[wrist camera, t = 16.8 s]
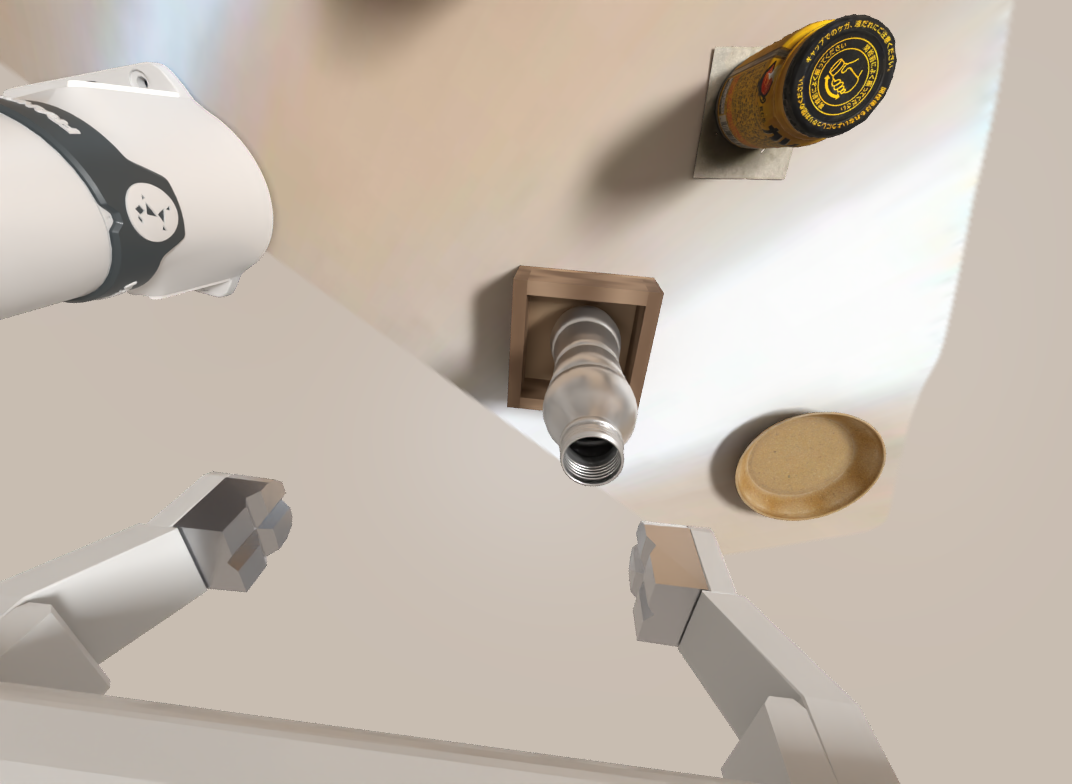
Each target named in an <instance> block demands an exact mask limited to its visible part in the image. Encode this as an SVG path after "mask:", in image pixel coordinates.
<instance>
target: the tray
mask: <svg viewBox="0 0 1072 784" xmlns="http://www.w3.org/2000/svg"><path fill="white" fill-rule="evenodd" d="M663 295H664V293H663V291H662V290H661V288H660V287H659V285H658V283H657V282H656V280H655V279H654V278H650V277H639V276H628V275H618V274H607V273H596V272H585V271H574V270H563V269H553V268H542V267H531V266H519V268H518V270H517V272H516V274H515V276H514V278H513V294H512V315H511V337H510V359H509V381H508V402H507V407H513V408H523V409H533V410H543V402H544V397H545V394H546V391H547V388H548V386H549V384H550V381H551V379H552V376H553V372H554V367H555V365H554V359H553V356H552V352H551V347H550V336H551V332H552V329H553V327H554V325H555V323H556V322H557V320H558V319H559V318H560V316H561V315H562V314H563V313H565V312H566V311H567V310H569V309H571V308H573V307H577V306H583V305H588V306H594V307H597V308H599V309H601V310H603V311H604V312H606V313H607V314H608V315H609V316H610V317H611V318H612V320H613V321H614V322H615V324H616V325H617V327H618V329H619V332H620V336H621V350H620V356H619V364H620V367H621V370H622V373H623V375H624V377H625V378H626V380H627V382H628V384H629V385H630V387H631V389H632V391H633V394H634V396H635V399H636V403H637V411H638V407H639V402H640V398H641V393H642V389H643V384H644V380H645V375H646V371H647V366H648V362H649V357H650V353H651V348H652V344H653V339H654V335H655V331H656V326H657V322H658V317H659V313H660V308H661V304H662V299H663Z"/></svg>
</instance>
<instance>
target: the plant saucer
mask: <svg viewBox="0 0 1072 784" xmlns="http://www.w3.org/2000/svg"><path fill="white" fill-rule="evenodd" d="M885 460H886V449H885V445H884V442H883V439H882V437H881V435H880V434H879V432H878V431H877V430H876V429H875V428H874V427H873V426H872V425H870V424H869V423H867V422H866V421H864V420H862V419H860V418H857V417H855V416H852V415H848V414H843V413H837V412H815V413H807V414H802V415H797V416H794V417H790V418H787V419H785V420H782V421H780V422H778V423H776V424H774V425H772V426H770V427H769V428H767V429H766V430H764V431H763V432H762V433H760V434H759V435H758V436H757V437H756V438H755V439H754V440H753V441H752V442H751V443H750V444H749V445H748V447H747V448H746V449H745V451H744V452H743V454H742V456H741V458H740V460H739V462H738V465H737V468H736V473H735V484H736V489H737V492H738V494H739V496H740V498H741V499H742V501H743V502H744V503H745V504H746V505H747V506H748V507H749V508H751V509H752V510H754V511H755V512H757V513H759V514H761V515H764V516H766V517H769V518H774V519H779V520H787V521H790V520H791V521H799V520H808V519H814V518H819V517H823V516H827V515H829V514H832V513H834V512H837V511H839V510H842V509H843V508H845V507H847V506H849V505H850V504H852V503H854V502H855V501H857V500H858V499H860V498H861V497H862V496H863V495H865V494H866V493H867V492H868V491H869V490H870V489H871V487H872V486H873V485H874V484H875V483H876V481H877V480H878V478H879V477H880V475H881V473H882V470H883V467H884V465H885Z"/></svg>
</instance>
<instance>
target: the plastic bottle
mask: <svg viewBox="0 0 1072 784" xmlns="http://www.w3.org/2000/svg"><path fill="white" fill-rule="evenodd" d="M550 347H551V352H552V356H553V359H554V365H555V367H554V372H553V376H552V379H551V381H550V384H549V386H548V388H547V391H546V394H545V397H544V402H543V410H542V412H543V419H544V422H545V425H546V427H547V430H548V432H549V434H550V436H551V437H552V439H553V440H554V441H555V442H556V443H557V444H558V445H559V448H560V461H561V466H562V468H563V470H564V472H565V474H566V475H567V476H568V477H569V478H570V479H572V480H573V481H575V482H577V483H579V484H582V485H585V486H600V485H604V484H607V483H609V482H611V481H613V480H614V479H615V478H616V477H617V476H618V475H619V474H620V473H621V470H622V468H623V464H624V454H623V450H624V444H625V443H626V442H627V441H628V440H629V438H630V437H631V435H632V433H633V431H634V428H635V424H636V420H637V415H638V411H637V403H636V399H635V396H634V394H633V391H632V389H631V387H630V385H629V384H628V382H627V380H626V378H625V377H624V375H623V373H622V370H621V367H620V364H619V356H620V350H621V336H620V332H619V329H618V327H617V325H616V324H615V322H614V321H613V320H612V318H611V317H610V316H609V315H608V314H607V313H606V312H604V311H603V310H601V309H599V308H597V307H594V306H588V305H583V306H577V307H573V308H571V309H569V310H567V311H566V312H565V313H563V314H562V315H561V316H560V318H559V319H558V320H557V322H556V323H555V325H554V327H553V329H552V332H551V336H550Z"/></svg>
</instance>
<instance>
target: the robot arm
mask: <svg viewBox="0 0 1072 784" xmlns="http://www.w3.org/2000/svg"><path fill="white" fill-rule="evenodd" d="M145 79H146V81H147V83H148V87H146V85H145ZM272 230H273V209H272V203H271V198H270V194H269V190H268V187H267V185H266V182H265V179H264V177H263V175H262V173H261V171H260V169H259V167H258V165H257V163H256V161H255V160H254V158H253V157H252V155H251V153H250V152H249V151H248V149H247V148H246V147H245V145H244V144H243V143H242V141H241V140H240V139H239V138H238V137H237V136H236V135H235V134H234V133H233V132H232V131H231V130H230V129H229V128H228V127H227V126H226V125H225V124H224V123H223V122H221V121H220V120H219V119H218V118H216V117H215V116H214V115H212V114H211V113H210V112H208V111H207V110H206V109H204V108H203V107H202V106H201V105H199V104H198V103H197V102H196V101H195V100H194V99H193V98H192V96H191V95H190V93H189V92H188V91H187V89H186V88H185V87H184V85H183V84H182V83H181V82H180V80H179V79H178V78H177V77H176V75H175V74H174V73H173V72H172V71H171V70H170V69H169V68H167V67H166V66H165V65H163V64H160V63H153V62H143V63H138V64H133V65H128V66H122V67H117V68H112V69H107V70H102V71H96V72H91V73H86V74H81V75H76V76H70V77H65V78H60V79H55V80H50V81H44V82H39V83H34V84H29V85H24V86H19V87H14V88H10V89H7V90H5V91H4V92H3V96H0V320H1V319H5V318H8V317H12V316H15V315H19V314H22V313H26V312H29V311H33V310H36V309H40V308H43V307H47V306H50V305H53V304H57V303H60V302H68V303H80V302H87V301H91V300H101V299H106V298H110V297H114V296H117V295H120V294H122V293H125V292H126V291H127V292H128V293H129V294H132V295H144V296H148V297H149V298H150V299H163V298H167V297H171V296H175V295H179V294H182V293H186V292H190V291H198V292H201V293H205V294H208V295H211V296H215V297H224V296H228V295H231V294H232V293H233V292H234V290H235V289H236V286H237V284H238V282H239V279H240V276H241V274H242V273H243V272H244V271H245V270H247V269H248V268H250V267H251V266H252V265H254V264H255V263H256V262H257V261H258V260H259V259H260V258H261V257H262V255H263V254H264V253H265V251H266V250H267V247H268V245H269V243H270V240H271V236H272ZM285 494H286V492H285V489H284V486H283V483H282V482H281V481H278V480H274V479H267V478H260V477H253V476H245V475H237V474H228V473H221V472H214V471H213V472H210V473H207V474H204V475H203V476H202V477H201V478H200V479H198V480H197V481H196V482H195V483H194V484H193V485H191V486H190V487H189V488H188V489H187V490H186V491H184V492H183V493H182V494H181V495H180V496H178V497H177V498H176V499H175V500H174V501H173V502H171V503H170V504H169V505H168V506H167V507H165V508H164V509H163V510H162V511H161V512H160V513H158V514H157V515H156V516H155V517H154V518H153V519H151V520H150V521H149V522H148V523H147V524H140V523H139V524H136V525H134V526H132V527H129V528H127V529H124V530H122V531H120V532H117V533H115V534H113V535H110V536H108V537H105V538H103V539H101V540H98V541H96V542H94V543H91V544H89V545H86V546H84V547H82V548H79V549H77V550H75V551H72V552H70V553H68V554H65V555H63V556H60V557H58V558H56V559H53V560H51V561H48V562H46V563H44V564H41V565H39V566H36V567H34V568H32V569H29V570H27V571H25V572H22V573H20V574H17V575H15V576H13V577H10V578H8V579H5V580H3V581H1V582H0V784H900V783H899V781H898V778H897V777H896V775H895V773H894V771H893V769H892V767H891V765H890V763H889V761H888V759H887V757H886V755H885V753H884V751H883V750H882V748H881V746H880V744H879V742H878V740H877V738H876V736H875V734H874V732H873V730H872V728H871V726H870V724H869V722H868V721H867V719H866V717H865V715H864V713H863V711H862V709H861V707H860V706H859V704H858V703H856V701H854V700H853V699H852V698H851V697H850V696H849V695H848V694H847V693H846V692H845V691H844V690H843V689H842V688H841V687H840V686H839V685H838V684H837V683H836V682H835V681H834V680H832V679H831V678H830V677H829V676H828V675H827V674H826V673H825V672H824V671H823V670H822V669H821V668H820V667H819V666H818V665H817V664H816V663H815V662H814V661H813V660H812V659H811V658H810V657H809V656H807V655H806V654H805V653H804V652H803V651H802V650H801V649H800V648H799V647H798V646H797V645H796V644H795V643H794V642H793V641H792V640H791V639H790V638H789V637H787V635H786V634H784V633H783V632H782V631H781V630H780V629H779V628H778V627H777V626H776V625H775V624H774V623H773V622H772V621H771V620H770V619H769V618H768V617H767V616H766V615H765V614H764V613H762V612H761V611H760V610H759V609H758V608H757V607H756V606H755V605H754V604H753V603H752V602H751V601H750V600H749V599H748V598H747V597H746V596H744V595H737V592H736V589H735V587H734V584H733V581H732V579H731V576H730V573H729V571H728V568H727V565H726V563H725V560H724V557H723V555H722V552H721V550H720V547H719V544H718V542H717V539H716V536H715V534H714V532H713V531H712V530H711V528H703V527H694V526H684V525H674V524H664V523H655V522H645V521H641V522H640V524H639V526H638V530H637V533H636V534H637V541H638V544H637V545H635V546H634V547H633V548H632V552H631V556H630V565H629V581H630V590H631V592H632V593H633V595H634V596H635V597H636V602H635V605H634V608H633V614H634V621H635V629H636V636H637V640H638V641H643V642H650V643H656V644H663V645H670V646H676V647H678V650H679V651H680V653H681V654H682V655H683V657H684V659H685V660H686V662H687V663H688V665H689V666H690V668H691V669H692V670H693V672H694V673H695V675H696V676H697V678H698V679H699V681H700V682H701V684H702V685H703V686H704V688H705V690H706V691H707V693H708V694H709V695H710V697H711V698H712V700H713V701H714V703H715V704H716V706H717V707H718V709H719V710H720V712H721V713H722V715H723V716H724V718H725V719H726V720H727V722H728V723H729V725H730V726H731V728H732V729H733V731H734V732H735V734H736V735H737V737H738V738H739V742H738V744H737V745H736V747H735V748H734V750H733V751H732V753H731V754H730V756H729V757H728V759H727V760H726V762H725V763H724V765H723V766H722V768H721V771H722V775H723V778H719V777H711V776H704V775H696V774H689V773H681V772H673V771H666V770H659V769H651V768H643V767H637V766H629V765H622V764H614V763H607V762H599V761H592V760H585V759H577V758H569V757H562V756H555V755H547V754H539V753H531V752H525V751H517V750H510V749H503V748H495V747H487V746H480V745H473V744H466V743H458V742H451V741H443V740H435V739H428V738H420V737H413V736H406V735H399V734H390V733H384V732H376V731H369V730H361V729H354V728H346V727H339V726H332V725H324V724H317V723H308V722H301V721H294V720H287V719H279V718H272V717H264V716H257V715H250V714H242V713H235V712H227V711H220V710H212V709H204V708H197V707H190V706H182V705H175V704H167V703H160V702H152V701H145V700H137V699H130V698H122V697H115V696H107V695H104V694H105V692H106V691H107V690H108V689H109V688H110V679H109V678H108V677H107V675H106V674H105V673H104V672H103V670H102V669H101V668H100V667H99V665H98V664H100V663H101V662H103V661H104V660H106V659H107V658H109V657H110V656H112V655H113V654H115V653H116V652H118V651H119V650H120V649H122V648H124V647H125V646H126V645H128V644H129V643H131V642H132V641H134V640H135V639H137V638H138V637H140V636H141V635H143V634H144V633H145V632H147V631H149V630H150V629H152V628H153V627H154V626H156V625H157V624H159V623H160V622H162V621H163V620H165V619H166V618H168V617H169V616H171V615H172V614H174V613H175V612H176V611H178V610H180V609H181V608H183V607H184V606H185V605H187V604H188V603H190V602H191V601H193V600H194V599H196V598H197V597H199V596H200V595H202V594H203V593H205V592H206V591H207V588H208V589H218V590H229V591H239V592H247V591H248V590H249V588H250V587H251V586H252V585H253V583H254V582H255V581H256V579H257V578H258V577H259V575H260V574H261V573H262V571H263V570H264V569H265V567H266V566H267V561H266V556H268V555H270V554H272V553H273V552H275V551H277V550H279V549H280V547H281V546H282V545H283V543H284V542H285V540H286V539H287V537H288V534H289V532H290V529H291V526H292V513H291V509H290V507H289V506H288V505H287V504H286V503H285V502H284V501H282V500H281V499H282V498H283V496H284V495H285Z"/></svg>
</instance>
